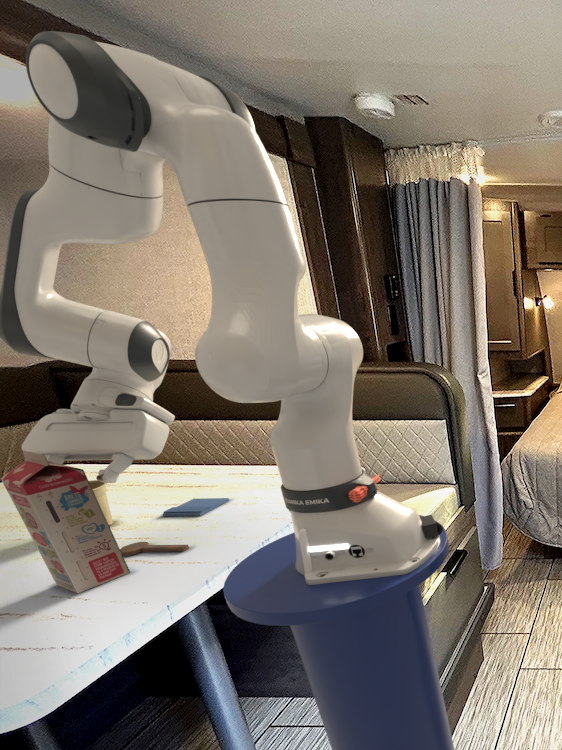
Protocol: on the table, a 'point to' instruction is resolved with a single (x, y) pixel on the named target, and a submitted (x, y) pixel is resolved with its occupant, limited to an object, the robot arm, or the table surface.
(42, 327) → the robot arm
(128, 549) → the wooden spoon
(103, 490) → the flower pot
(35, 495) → the juice carton
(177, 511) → the cloth
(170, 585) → the table surface
